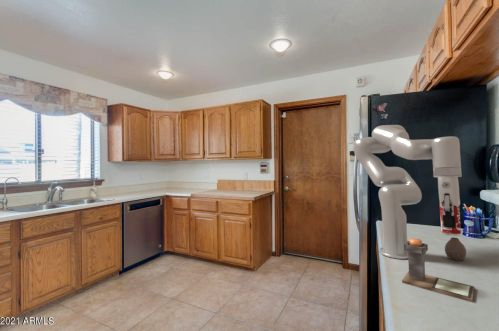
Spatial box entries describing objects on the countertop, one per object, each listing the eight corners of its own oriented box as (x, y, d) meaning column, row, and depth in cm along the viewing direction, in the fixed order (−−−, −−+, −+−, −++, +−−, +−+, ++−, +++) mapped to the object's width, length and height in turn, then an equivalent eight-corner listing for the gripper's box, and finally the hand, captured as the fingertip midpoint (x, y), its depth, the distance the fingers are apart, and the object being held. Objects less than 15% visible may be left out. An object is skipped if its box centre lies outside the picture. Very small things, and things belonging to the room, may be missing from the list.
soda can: (451, 231, 85) (449, 197, 85) (465, 235, 80) (463, 199, 80) (437, 232, 85) (435, 198, 85) (450, 236, 80) (448, 200, 80)
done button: (408, 246, 85) (408, 240, 85) (411, 243, 87) (410, 237, 87) (420, 248, 82) (420, 242, 82) (423, 245, 85) (422, 239, 85)
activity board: (402, 282, 84) (400, 245, 84) (409, 272, 91) (407, 238, 91) (472, 302, 71) (470, 258, 71) (474, 288, 78) (472, 249, 78)
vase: (441, 256, 105) (440, 236, 105) (457, 255, 105) (456, 235, 105) (453, 262, 98) (452, 241, 98) (471, 261, 98) (470, 240, 98)
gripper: (459, 173, 74) (463, 232, 74) (462, 171, 86) (466, 222, 86) (429, 174, 79) (433, 229, 79) (436, 172, 91) (439, 220, 91)
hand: (450, 225), depth 82 cm, fingers closed on soda can, 4 cm apart
